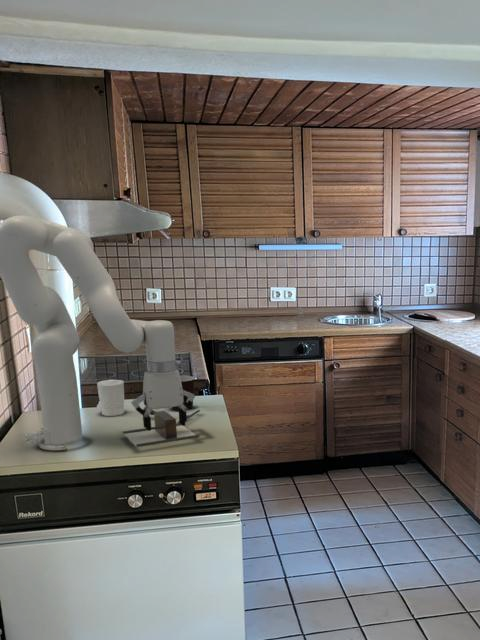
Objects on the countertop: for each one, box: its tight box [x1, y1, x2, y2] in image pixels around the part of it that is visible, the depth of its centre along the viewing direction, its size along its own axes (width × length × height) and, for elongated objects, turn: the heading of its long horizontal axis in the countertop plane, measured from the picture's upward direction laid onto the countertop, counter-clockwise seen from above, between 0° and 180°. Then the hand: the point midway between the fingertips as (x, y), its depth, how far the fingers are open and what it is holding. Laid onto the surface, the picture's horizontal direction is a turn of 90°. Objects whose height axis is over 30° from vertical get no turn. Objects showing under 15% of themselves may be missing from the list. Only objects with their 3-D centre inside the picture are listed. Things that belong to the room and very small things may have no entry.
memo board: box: [122, 422, 200, 448], centre depth 194 cm, size 17×14×2 cm
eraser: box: [153, 410, 177, 440], centre depth 194 cm, size 3×10×6 cm, turn 33°
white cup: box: [96, 379, 125, 417], centre depth 219 cm, size 8×8×10 cm
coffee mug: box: [171, 375, 196, 412], centre depth 226 cm, size 12×9×10 cm
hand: (165, 427), depth 194 cm, fingers open, 9 cm apart
